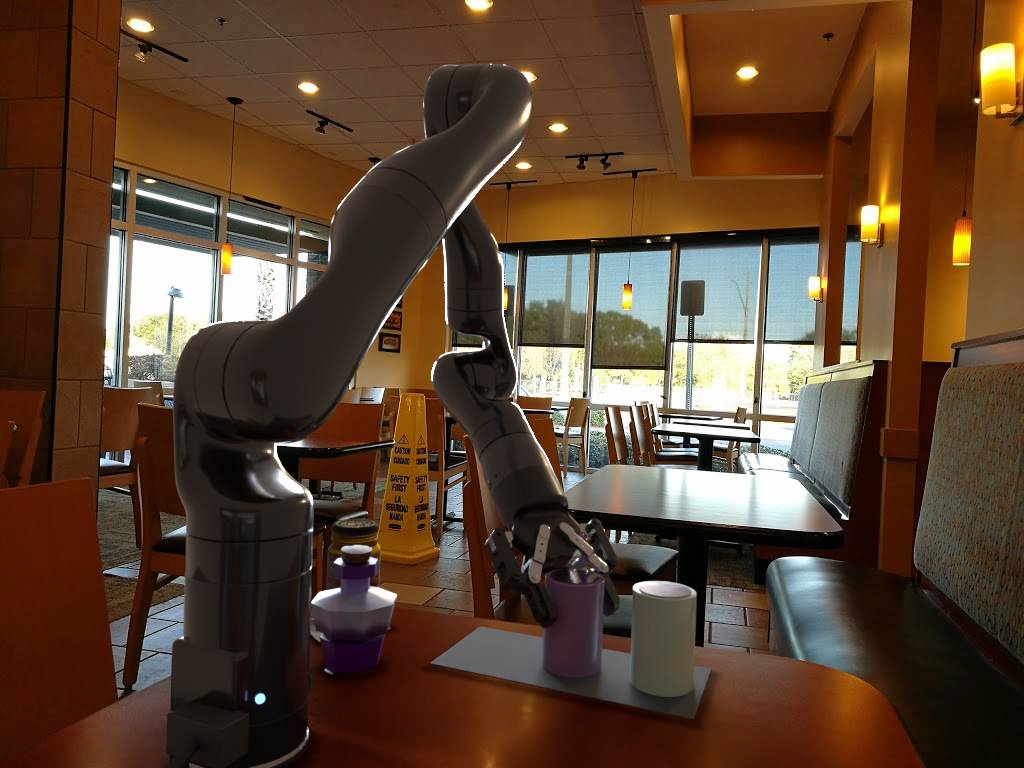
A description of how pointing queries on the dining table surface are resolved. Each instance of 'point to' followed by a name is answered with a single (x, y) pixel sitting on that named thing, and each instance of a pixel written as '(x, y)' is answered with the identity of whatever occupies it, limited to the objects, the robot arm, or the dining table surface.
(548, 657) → the purple tumbler
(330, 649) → the potion bottle
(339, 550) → the condiment
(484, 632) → the placemat
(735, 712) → the dining table surface
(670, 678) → the celadon tumbler
